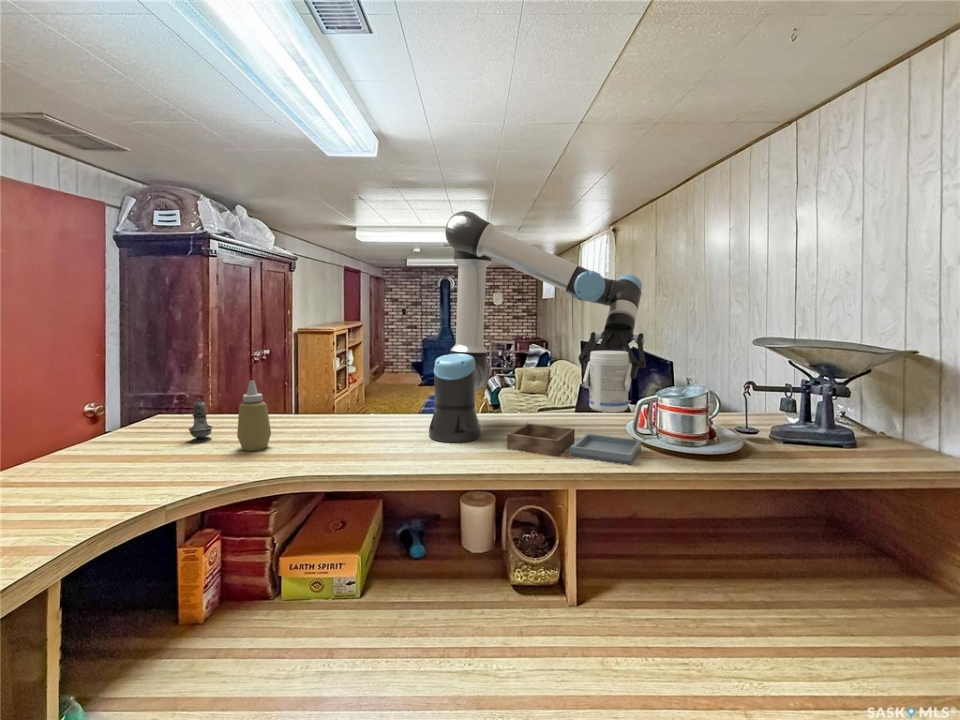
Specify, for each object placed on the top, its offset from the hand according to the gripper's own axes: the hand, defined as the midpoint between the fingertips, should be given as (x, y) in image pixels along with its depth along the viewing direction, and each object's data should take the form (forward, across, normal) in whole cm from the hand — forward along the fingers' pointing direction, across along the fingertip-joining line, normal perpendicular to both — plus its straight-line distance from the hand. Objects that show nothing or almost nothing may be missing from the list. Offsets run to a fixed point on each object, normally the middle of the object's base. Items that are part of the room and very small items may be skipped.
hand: (605, 386), depth 118 cm
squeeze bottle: (+39, +83, +14) cm, 93 cm away
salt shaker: (+40, +103, +15) cm, 112 cm away
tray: (+10, 0, -15) cm, 18 cm away
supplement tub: (+2, 0, -7) cm, 7 cm away
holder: (+12, +17, -13) cm, 25 cm away
